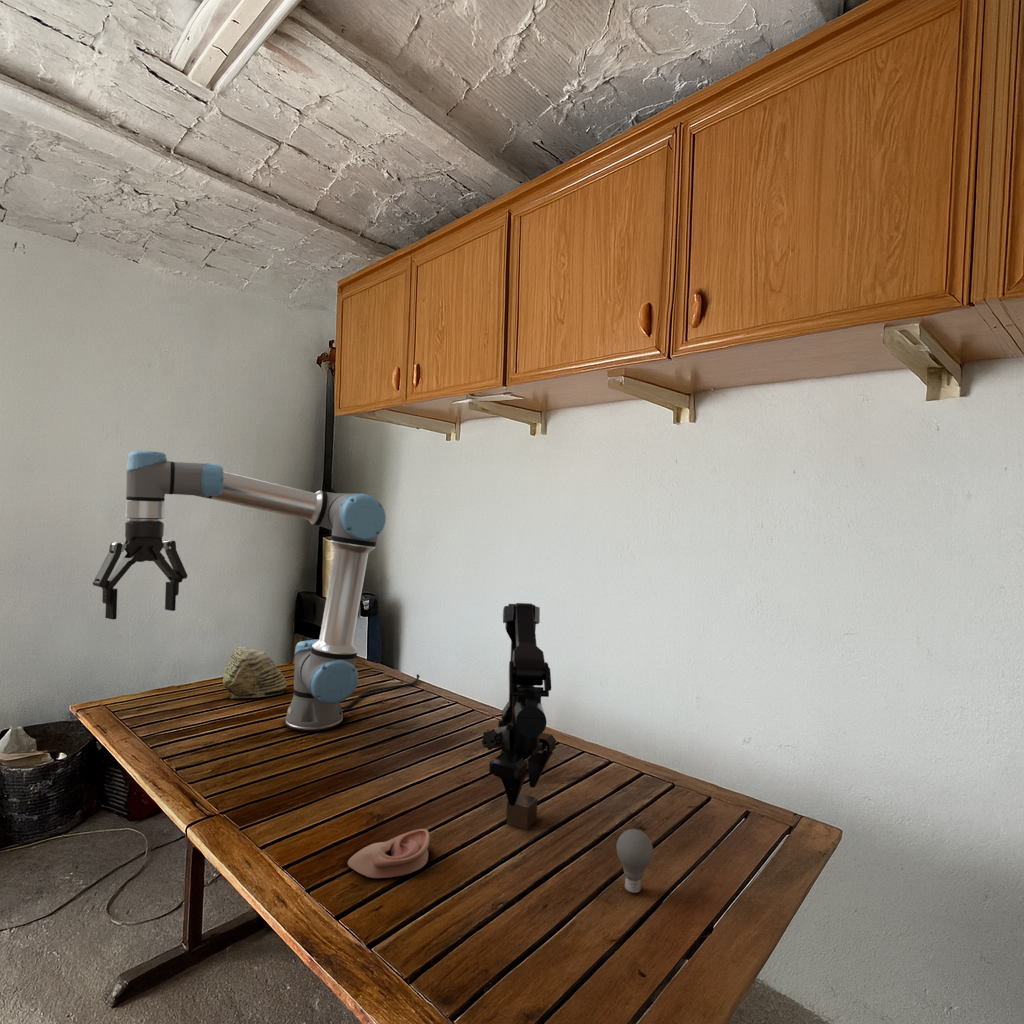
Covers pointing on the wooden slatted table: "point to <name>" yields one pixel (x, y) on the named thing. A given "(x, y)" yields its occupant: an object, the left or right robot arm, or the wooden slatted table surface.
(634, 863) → the light bulb
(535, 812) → the block
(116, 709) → the wooden slatted table surface
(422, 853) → the anatomical model
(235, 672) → the fossil
